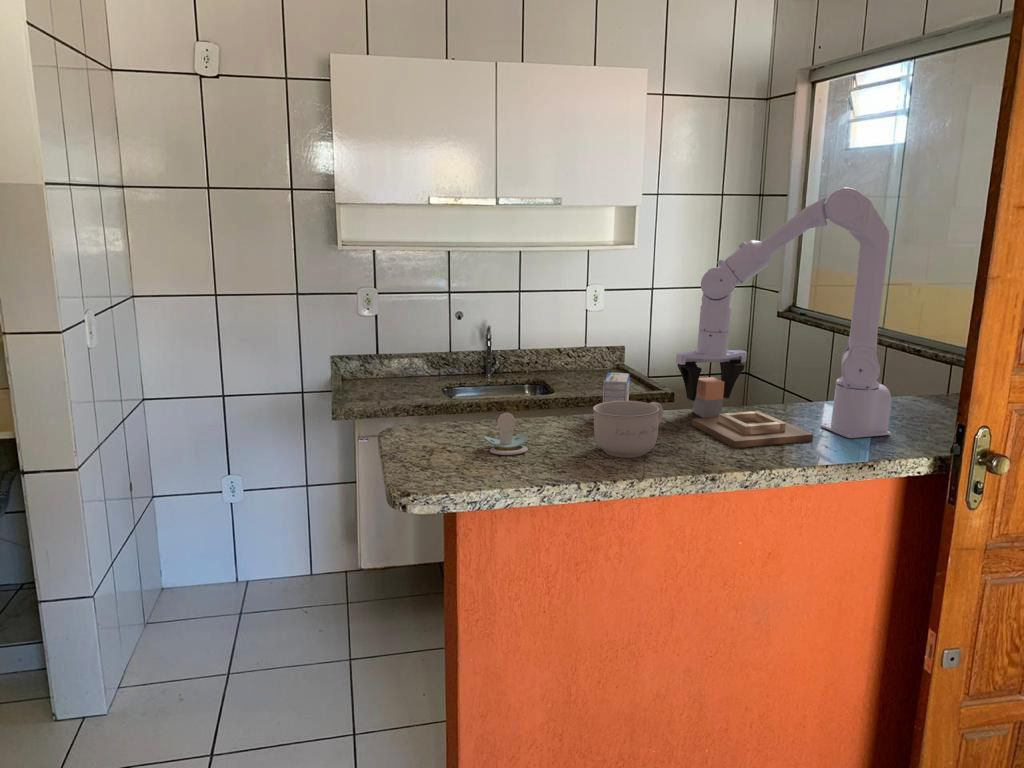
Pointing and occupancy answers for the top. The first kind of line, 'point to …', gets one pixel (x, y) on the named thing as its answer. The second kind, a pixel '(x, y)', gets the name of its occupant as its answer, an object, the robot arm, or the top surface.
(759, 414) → the socket board
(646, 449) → the teacup
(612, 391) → the medicine box
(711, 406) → the square peg
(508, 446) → the pacifier
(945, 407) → the top surface
